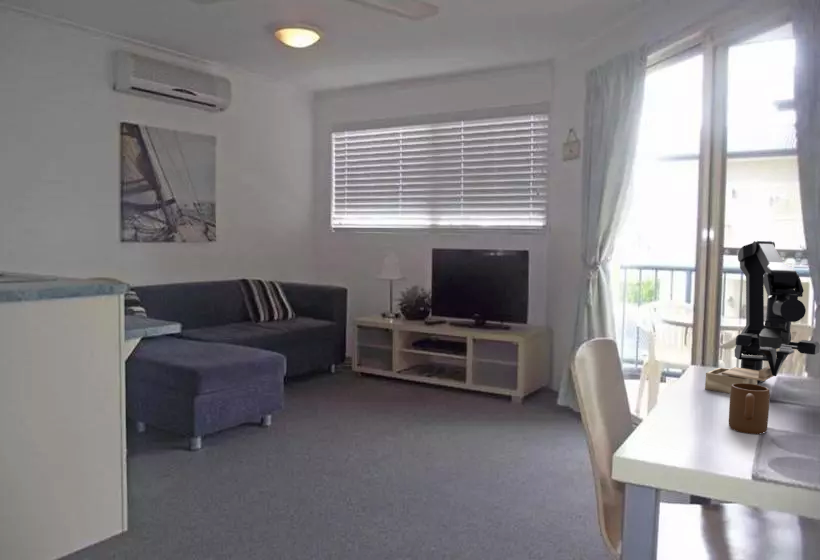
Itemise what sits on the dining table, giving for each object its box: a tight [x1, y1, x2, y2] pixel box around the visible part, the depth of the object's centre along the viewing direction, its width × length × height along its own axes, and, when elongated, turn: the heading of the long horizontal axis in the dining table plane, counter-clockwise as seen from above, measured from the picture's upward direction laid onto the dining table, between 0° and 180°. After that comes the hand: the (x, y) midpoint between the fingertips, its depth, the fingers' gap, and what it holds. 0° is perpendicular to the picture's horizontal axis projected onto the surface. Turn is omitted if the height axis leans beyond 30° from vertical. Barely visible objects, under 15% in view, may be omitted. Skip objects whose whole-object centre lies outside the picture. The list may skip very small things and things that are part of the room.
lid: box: [722, 365, 774, 382], centre depth 181 cm, size 11×10×2 cm
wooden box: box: [704, 367, 758, 394], centre depth 185 cm, size 11×10×4 cm
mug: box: [728, 383, 771, 435], centre depth 144 cm, size 12×8×9 cm, turn 153°
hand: (774, 375), depth 177 cm, fingers closed
